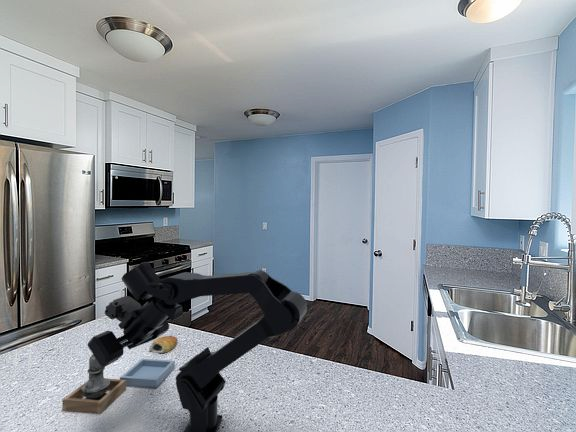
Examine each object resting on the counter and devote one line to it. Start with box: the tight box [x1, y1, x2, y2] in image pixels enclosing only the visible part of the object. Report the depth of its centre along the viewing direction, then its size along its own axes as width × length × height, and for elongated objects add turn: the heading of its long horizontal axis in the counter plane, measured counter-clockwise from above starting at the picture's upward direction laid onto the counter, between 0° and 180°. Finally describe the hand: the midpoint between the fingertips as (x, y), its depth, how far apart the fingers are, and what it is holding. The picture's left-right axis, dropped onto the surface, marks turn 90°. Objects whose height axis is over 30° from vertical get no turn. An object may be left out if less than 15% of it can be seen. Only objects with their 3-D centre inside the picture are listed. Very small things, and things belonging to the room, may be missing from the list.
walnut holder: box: [61, 377, 127, 415], centre depth 73 cm, size 9×9×2 cm
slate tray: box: [119, 358, 176, 389], centre depth 83 cm, size 10×10×2 cm
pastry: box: [148, 335, 178, 354], centre depth 101 cm, size 9×7×4 cm
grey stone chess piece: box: [81, 354, 110, 400], centre depth 73 cm, size 6×6×12 cm
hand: (112, 355), depth 71 cm, fingers open, 9 cm apart
